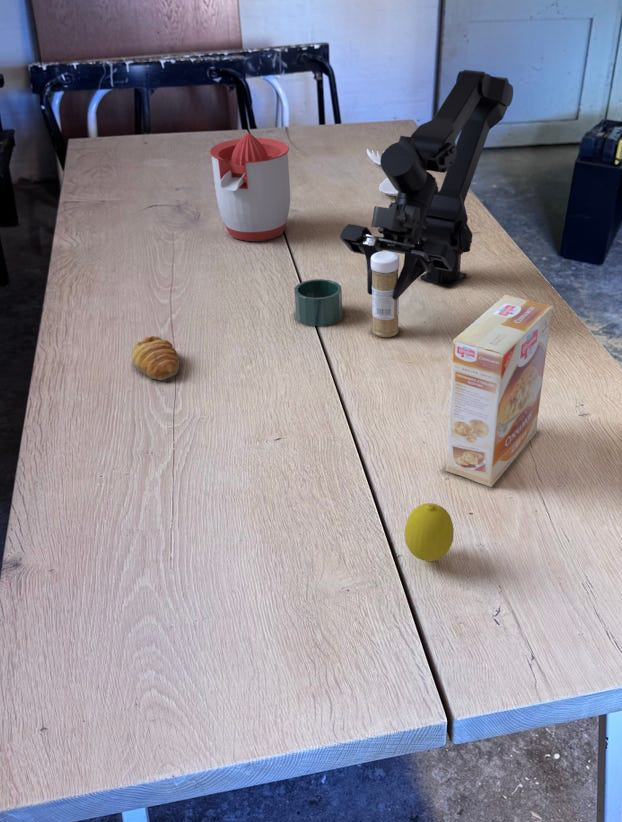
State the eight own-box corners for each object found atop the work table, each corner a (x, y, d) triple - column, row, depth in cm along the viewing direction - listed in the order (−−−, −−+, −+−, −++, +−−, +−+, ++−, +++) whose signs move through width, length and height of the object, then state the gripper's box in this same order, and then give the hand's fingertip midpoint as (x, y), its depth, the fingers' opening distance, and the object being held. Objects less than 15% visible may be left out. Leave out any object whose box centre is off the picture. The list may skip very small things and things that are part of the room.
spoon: (400, 159, 222) (400, 144, 220) (421, 202, 197) (422, 187, 194) (365, 160, 221) (365, 146, 219) (382, 204, 196) (382, 189, 194)
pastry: (190, 375, 136) (187, 353, 134) (149, 387, 133) (145, 365, 131) (168, 350, 142) (165, 329, 140) (129, 362, 140) (124, 340, 137)
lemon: (401, 545, 104) (402, 491, 99) (447, 542, 104) (451, 489, 99) (407, 577, 99) (408, 523, 95) (455, 573, 100) (459, 519, 95)
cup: (317, 301, 157) (316, 275, 154) (351, 313, 152) (350, 287, 149) (286, 317, 152) (284, 290, 149) (321, 330, 148) (319, 303, 145)
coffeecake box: (492, 488, 112) (505, 354, 100) (443, 471, 115) (450, 339, 104) (538, 433, 122) (555, 304, 111) (492, 418, 125) (503, 292, 114)
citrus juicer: (200, 243, 179) (187, 142, 166) (241, 214, 191) (232, 119, 179) (269, 254, 174) (260, 151, 162) (306, 224, 187) (301, 126, 174)
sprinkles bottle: (403, 328, 148) (404, 253, 139) (391, 340, 144) (391, 263, 136) (379, 323, 149) (378, 248, 141) (366, 334, 146) (365, 258, 138)
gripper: (343, 174, 138) (312, 266, 137) (452, 191, 131) (420, 288, 131) (367, 206, 149) (338, 292, 148) (469, 224, 142) (439, 314, 141)
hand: (381, 296), depth 141 cm, fingers closed on sprinkles bottle, 4 cm apart
